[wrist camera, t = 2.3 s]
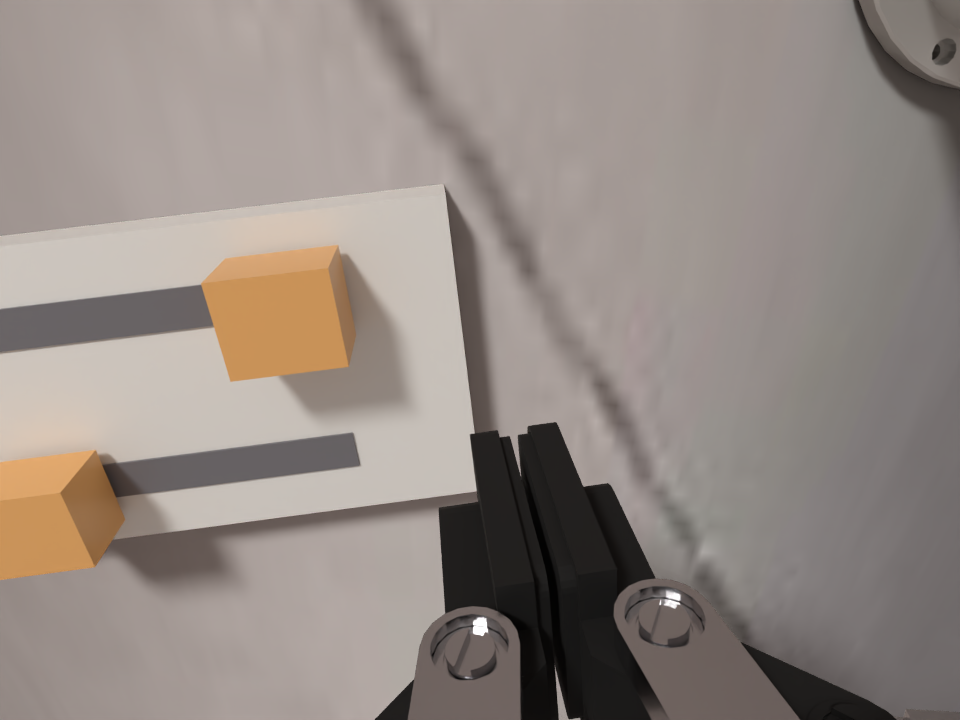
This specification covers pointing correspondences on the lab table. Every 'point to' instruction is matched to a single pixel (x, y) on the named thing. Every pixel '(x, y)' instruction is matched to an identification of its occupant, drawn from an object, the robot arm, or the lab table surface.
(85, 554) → the switch tab
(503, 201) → the lab table surface
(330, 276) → the switch tab
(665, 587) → the robot arm
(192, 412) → the switch panel
